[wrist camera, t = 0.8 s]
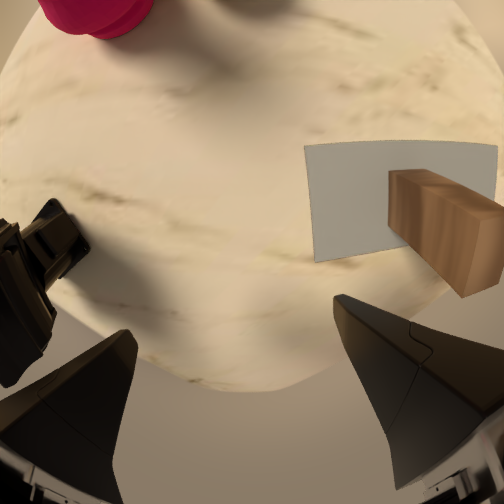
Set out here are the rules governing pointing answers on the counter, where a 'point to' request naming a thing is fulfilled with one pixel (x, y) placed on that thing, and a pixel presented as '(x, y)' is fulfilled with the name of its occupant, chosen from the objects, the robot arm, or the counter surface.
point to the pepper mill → (96, 16)
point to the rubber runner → (380, 187)
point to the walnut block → (448, 228)
